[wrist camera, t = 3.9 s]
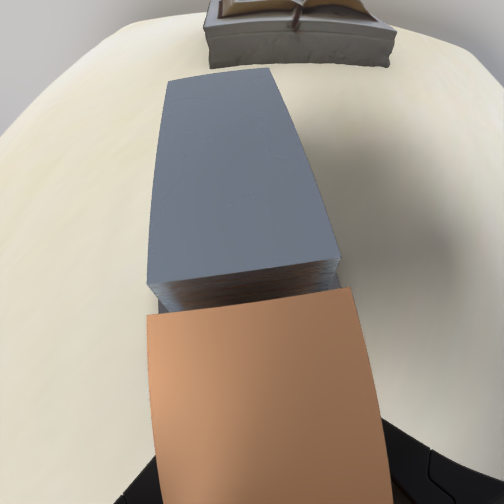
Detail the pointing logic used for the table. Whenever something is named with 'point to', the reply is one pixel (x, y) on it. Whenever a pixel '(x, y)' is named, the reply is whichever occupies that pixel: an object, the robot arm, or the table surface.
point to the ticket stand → (234, 199)
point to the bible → (295, 33)
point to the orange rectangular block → (266, 404)
